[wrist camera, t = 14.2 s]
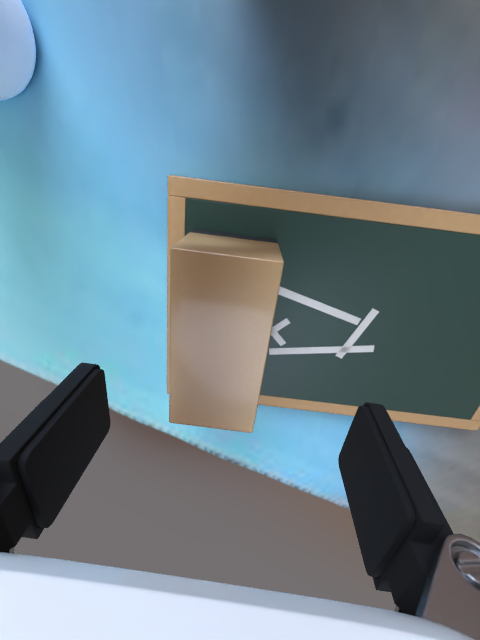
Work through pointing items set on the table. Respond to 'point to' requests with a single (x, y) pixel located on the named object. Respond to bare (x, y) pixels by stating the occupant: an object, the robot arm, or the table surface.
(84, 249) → the table surface
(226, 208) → the slate
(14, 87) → the drinking glass
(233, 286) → the eraser
